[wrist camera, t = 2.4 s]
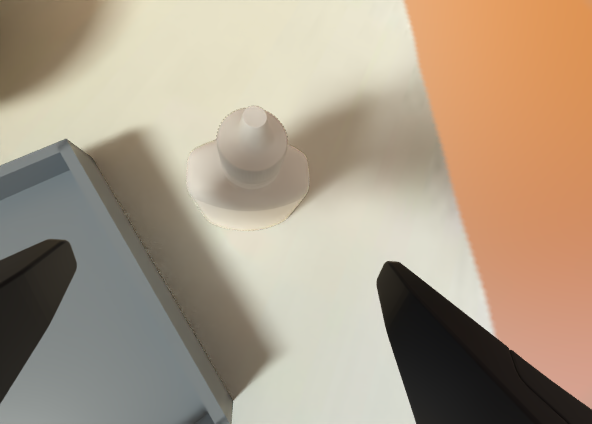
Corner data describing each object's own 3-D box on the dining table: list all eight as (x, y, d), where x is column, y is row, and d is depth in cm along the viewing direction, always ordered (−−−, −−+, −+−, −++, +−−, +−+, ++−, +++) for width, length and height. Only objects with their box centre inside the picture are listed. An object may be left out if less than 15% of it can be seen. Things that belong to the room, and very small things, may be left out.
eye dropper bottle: (268, 253, 19) (309, 227, 8) (195, 216, 19) (118, 128, 7) (295, 199, 20) (366, 106, 9) (227, 163, 20) (205, 15, 8)
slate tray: (233, 401, 17) (231, 426, 14) (-77, 640, 13) (-164, 741, 10) (92, 158, 18) (66, 138, 15) (-231, 299, 14) (-346, 306, 11)
